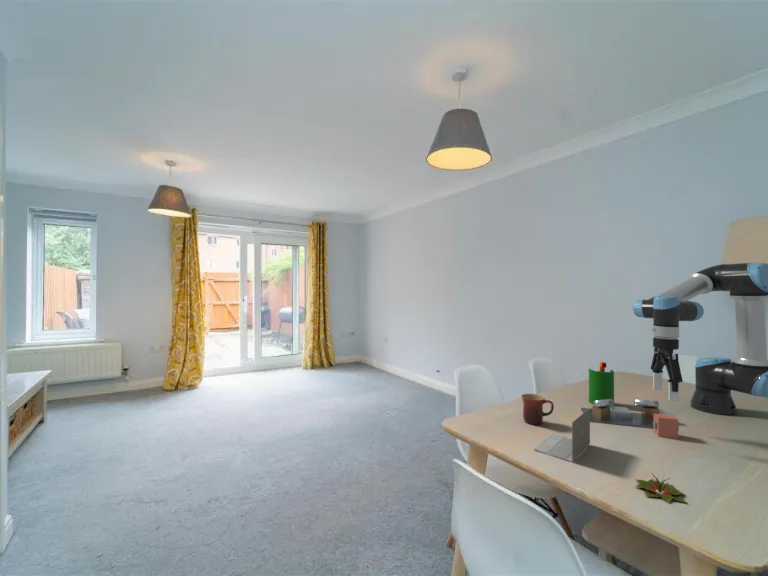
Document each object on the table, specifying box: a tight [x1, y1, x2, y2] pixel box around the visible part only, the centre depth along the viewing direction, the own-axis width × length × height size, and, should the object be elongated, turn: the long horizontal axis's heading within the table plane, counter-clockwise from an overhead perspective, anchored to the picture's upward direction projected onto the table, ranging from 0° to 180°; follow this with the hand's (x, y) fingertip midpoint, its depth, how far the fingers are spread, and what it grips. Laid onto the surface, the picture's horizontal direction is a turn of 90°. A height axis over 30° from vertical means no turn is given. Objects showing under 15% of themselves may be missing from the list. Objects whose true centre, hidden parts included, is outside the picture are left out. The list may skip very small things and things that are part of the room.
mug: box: [521, 393, 555, 426], centre depth 144 cm, size 12×9×10 cm
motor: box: [588, 361, 615, 408], centre depth 167 cm, size 10×9×20 cm
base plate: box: [580, 398, 661, 429], centre depth 148 cm, size 27×15×8 cm, turn 71°
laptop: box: [533, 408, 591, 463], centre depth 122 cm, size 18×12×13 cm
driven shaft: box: [591, 399, 615, 420], centre depth 147 cm, size 8×4×7 cm, turn 106°
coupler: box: [653, 413, 680, 439], centre depth 132 cm, size 7×4×7 cm, turn 71°
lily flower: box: [634, 472, 688, 504], centre depth 95 cm, size 12×12×5 cm
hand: (665, 395), depth 131 cm, fingers open, 13 cm apart
